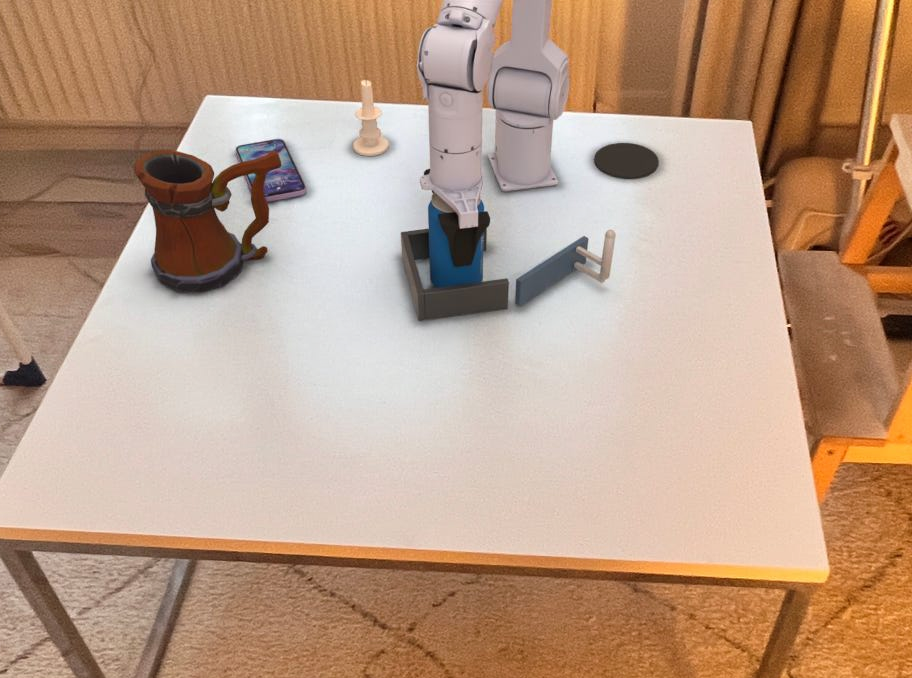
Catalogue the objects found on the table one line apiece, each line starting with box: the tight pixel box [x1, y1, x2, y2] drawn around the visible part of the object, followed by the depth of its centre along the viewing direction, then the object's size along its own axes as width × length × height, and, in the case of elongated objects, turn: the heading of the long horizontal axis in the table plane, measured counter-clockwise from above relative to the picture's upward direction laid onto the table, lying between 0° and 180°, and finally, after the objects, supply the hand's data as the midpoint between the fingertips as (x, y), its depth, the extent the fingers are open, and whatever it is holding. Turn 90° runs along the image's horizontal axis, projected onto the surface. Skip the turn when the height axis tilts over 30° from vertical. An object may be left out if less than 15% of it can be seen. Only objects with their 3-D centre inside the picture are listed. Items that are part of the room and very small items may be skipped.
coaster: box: [593, 142, 659, 180], centre depth 132 cm, size 9×9×1 cm
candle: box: [352, 79, 390, 157], centre depth 132 cm, size 5×5×10 cm
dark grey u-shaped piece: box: [400, 227, 510, 322], centre depth 113 cm, size 11×13×4 cm
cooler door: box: [514, 229, 617, 307], centre depth 109 cm, size 6×12×8 cm, turn 133°
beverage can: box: [427, 192, 485, 288], centre depth 110 cm, size 6×6×12 cm
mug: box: [132, 150, 282, 293], centre depth 112 cm, size 18×12×15 cm, turn 102°
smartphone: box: [235, 138, 307, 203], centre depth 131 cm, size 7×1×15 cm
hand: (456, 245), depth 110 cm, fingers open, 7 cm apart
